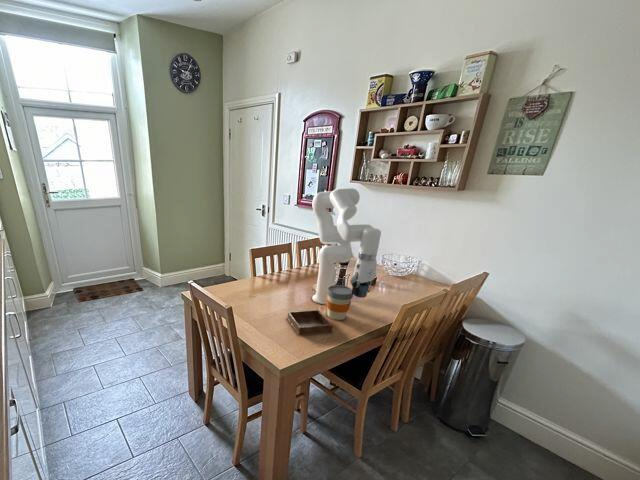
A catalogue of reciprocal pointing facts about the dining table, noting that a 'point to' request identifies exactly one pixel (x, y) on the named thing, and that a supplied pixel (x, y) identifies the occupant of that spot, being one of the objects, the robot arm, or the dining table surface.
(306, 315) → the dark wooden tray
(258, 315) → the dining table surface
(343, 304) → the reusable coffee cup
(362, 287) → the dark blue cup
